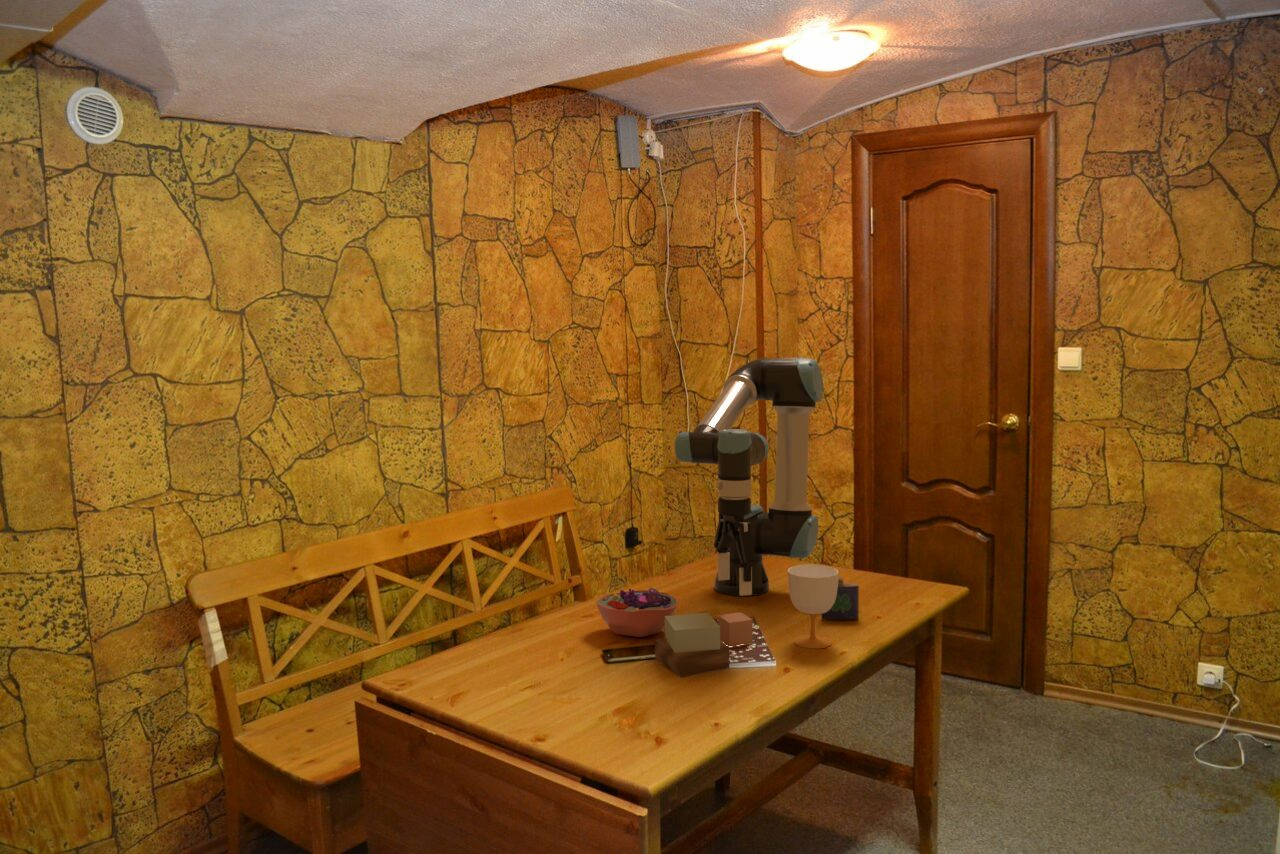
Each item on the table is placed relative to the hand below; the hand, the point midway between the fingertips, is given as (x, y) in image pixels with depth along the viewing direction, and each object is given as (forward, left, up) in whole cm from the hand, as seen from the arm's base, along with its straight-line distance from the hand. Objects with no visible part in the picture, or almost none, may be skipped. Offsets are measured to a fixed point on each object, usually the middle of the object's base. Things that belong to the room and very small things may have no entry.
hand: (734, 587), depth 216 cm
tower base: (+10, -14, -14) cm, 22 cm away
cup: (+6, +17, -13) cm, 23 cm away
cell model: (-13, -20, -14) cm, 27 cm away
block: (0, 0, -13) cm, 13 cm away
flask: (-7, +31, -14) cm, 35 cm away
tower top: (+10, -14, -9) cm, 19 cm away
